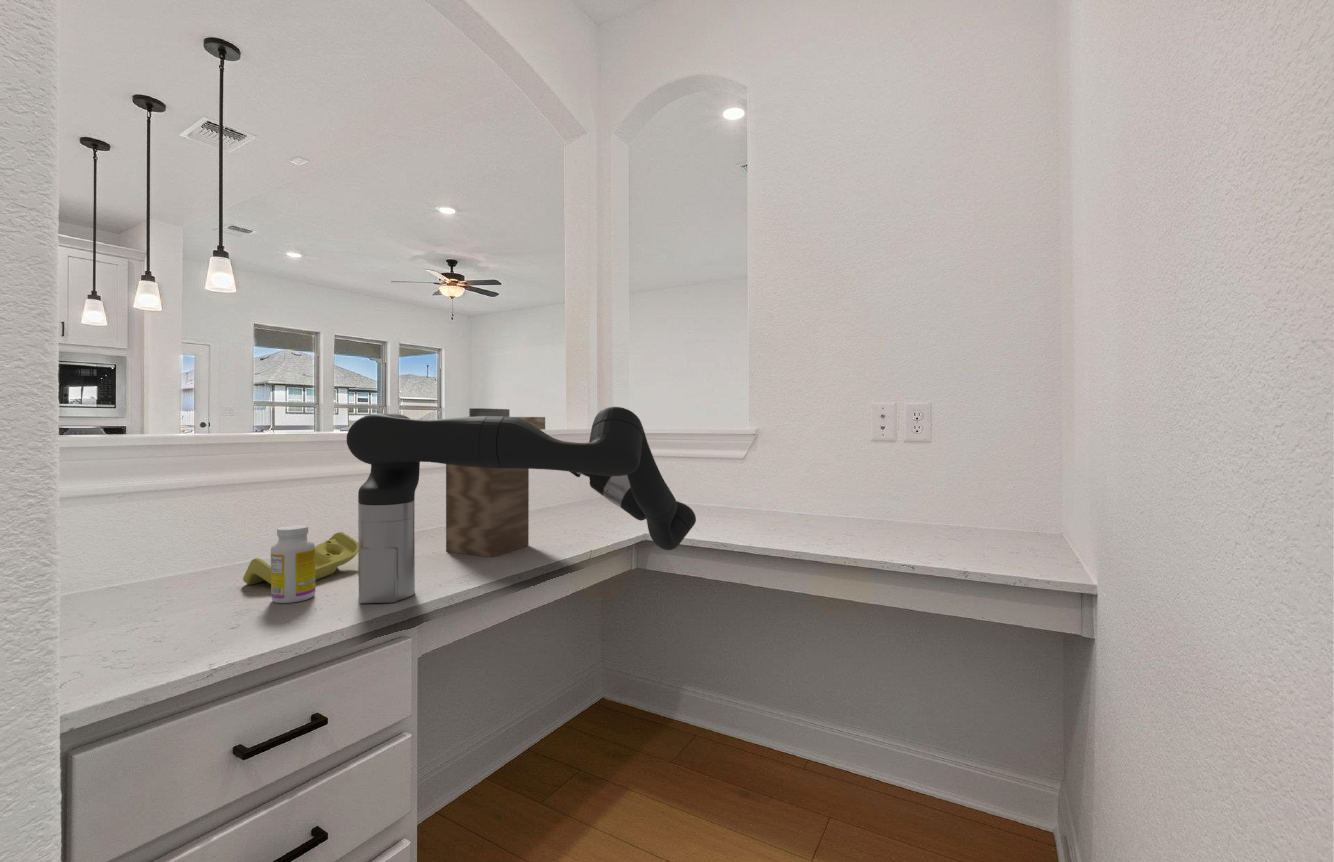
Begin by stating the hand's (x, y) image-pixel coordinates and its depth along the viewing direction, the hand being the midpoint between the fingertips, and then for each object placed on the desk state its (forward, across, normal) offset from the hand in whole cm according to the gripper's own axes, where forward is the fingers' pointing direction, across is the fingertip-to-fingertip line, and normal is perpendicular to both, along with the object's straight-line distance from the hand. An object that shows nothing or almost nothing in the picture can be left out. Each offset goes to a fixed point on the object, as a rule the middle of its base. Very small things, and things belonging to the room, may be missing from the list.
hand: (562, 446), depth 135 cm
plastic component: (+19, -36, -42) cm, 58 cm away
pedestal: (+6, 0, -34) cm, 34 cm away
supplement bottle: (+9, -47, -36) cm, 59 cm away
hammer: (+15, 0, -4) cm, 15 cm away
